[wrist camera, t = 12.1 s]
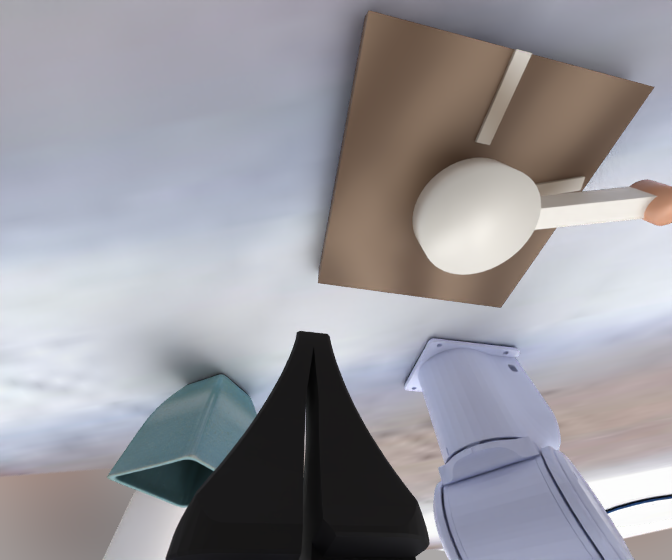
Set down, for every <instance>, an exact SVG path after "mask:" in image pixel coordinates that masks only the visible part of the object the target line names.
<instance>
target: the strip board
mask: <svg viewBox="0 0 672 560" xmlns="http://www.w3.org/2000/svg"><path fill="white" fill-rule="evenodd" d="M653 88H654V87H652V86H648V85H645V84H641V83H637V82H633V81H630V80H626V79H622V78H619V77H615V76H611V75H607V74H604V73H600V72H596V71H593V70H589V69H585V68H581V67H578V66H574V65H570V64H567V63H563V62H559V61H555V60H552V59H548V58H544V57H540V56H537V55H533V54H532V53H529V52H526V51H522V50H518V49H515V50H514V49H511V48H507V47H503V46H500V45H496V44H492V43H488V42H485V41H481V40H477V39H474V38H470V37H466V36H462V35H459V34H455V33H451V32H448V31H444V30H440V29H436V28H433V27H429V26H425V25H421V24H418V23H414V22H410V21H407V20H403V19H399V18H395V17H392V16H388V15H384V14H381V13H377V12H373V11H368V13H367V14H366V16H365V20H364V25H363V31H362V36H361V42H360V47H359V53H358V58H357V64H356V69H355V75H354V80H353V86H352V91H351V97H350V102H349V108H348V113H347V119H346V124H345V130H344V135H343V141H342V146H341V152H340V157H339V163H338V168H337V174H336V179H335V185H334V190H333V196H332V201H331V207H330V212H329V218H328V223H327V229H326V234H325V240H324V245H323V251H322V256H321V262H320V267H319V275H318V283H321V284H329V285H336V286H344V287H351V288H358V289H366V290H373V291H381V292H388V293H395V294H403V295H410V296H418V297H425V298H432V299H440V300H447V301H455V302H462V303H469V304H477V305H484V306H492V307H499V308H501V307H502V305H503V304H504V303H505V301H506V300H507V298H508V297H509V295H510V294H511V292H512V291H513V290H514V288H515V287H516V285H517V284H518V282H519V281H520V280H521V278H522V277H523V275H524V274H525V272H526V271H527V269H528V268H529V267H530V265H531V264H532V262H533V261H534V259H535V258H536V257H537V255H538V254H539V252H540V251H541V249H542V248H543V246H544V245H545V244H546V242H547V241H548V239H549V238H550V236H551V235H552V234H553V232H554V231H555V229H556V228H548V229H538V230H534V232H533V233H532V235H531V237H530V238H529V239H528V241H527V242H526V243H525V244H524V246H523V247H522V248H521V249H520V250H519V251H518V252H517V253H516V254H514V255H513V256H512V257H511V258H509V259H508V260H506V261H505V262H503V263H502V264H500V265H498V266H496V267H494V268H492V269H489V270H486V271H484V272H480V273H475V274H466V275H461V274H453V273H449V272H445V271H443V270H441V269H439V268H438V267H436V266H435V265H434V264H433V263H432V262H431V261H430V260H429V259H428V257H427V256H426V254H425V252H424V250H423V249H422V247H421V245H420V244H419V242H418V240H417V238H416V236H415V233H414V230H413V211H414V207H415V204H416V202H417V199H418V197H419V195H420V194H421V192H422V190H423V189H424V188H425V186H426V185H427V184H428V183H429V181H430V180H431V179H432V178H433V177H435V176H436V175H437V174H438V173H439V172H441V171H442V170H443V169H445V168H447V167H448V166H450V165H452V164H454V163H457V162H459V161H462V160H465V159H470V158H489V159H493V160H496V161H499V162H501V163H503V164H505V165H507V166H509V167H512V168H514V169H516V170H518V171H520V172H522V173H524V174H526V175H527V176H528V177H530V178H531V179H532V181H533V182H534V183H535V185H536V186H537V188H538V191H539V193H540V196H546V195H555V194H565V193H574V192H582V190H583V189H584V188H585V186H586V185H587V183H588V182H589V180H590V179H591V178H592V176H593V175H594V173H595V172H596V170H597V169H598V167H599V166H600V165H601V163H602V162H603V160H604V159H605V157H606V156H607V155H608V153H609V152H610V150H611V149H612V147H613V146H614V144H615V143H616V142H617V140H618V139H619V137H620V136H621V134H622V133H623V132H624V130H625V129H626V127H627V126H628V124H629V123H630V121H631V120H632V119H633V117H634V116H635V114H636V113H637V111H638V110H639V109H640V107H641V106H642V104H643V103H644V101H645V100H646V98H647V97H648V96H649V94H650V93H651V91H652V90H653Z"/></svg>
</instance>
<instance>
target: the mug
mask: <svg viewBox="0 0 672 560" xmlns="http://www.w3.org/2000/svg"><path fill="white" fill-rule="evenodd" d="M185 510H186V508H181V507H178V506H175V505H172V504H170V503H167V502H165V501H163V500H160V499H158V498H155V497H153V496H150V495H147V494H145V493H142V492H140V491H137V490H135V492H134V494H133V496H132V499H131V500H130V503H129V505H128V507H127V509H126V511H125V513H124V515H123V518H122V520H121V522H120V524H119V526H118V528H117V530H116V533H115V535H114V537H113V539H112V541H111V544H110V545H109V548H108V550H107V552H106V554H105V556H104V558H103V560H166V559H165V558H166V555H167V552H168V549H169V546H170V543H171V540H172V537H173V535H174V532H175V530H176V528H177V525H178V523H179V521H180V519H181V517H182V516H183V514H184V512H185Z"/></svg>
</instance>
